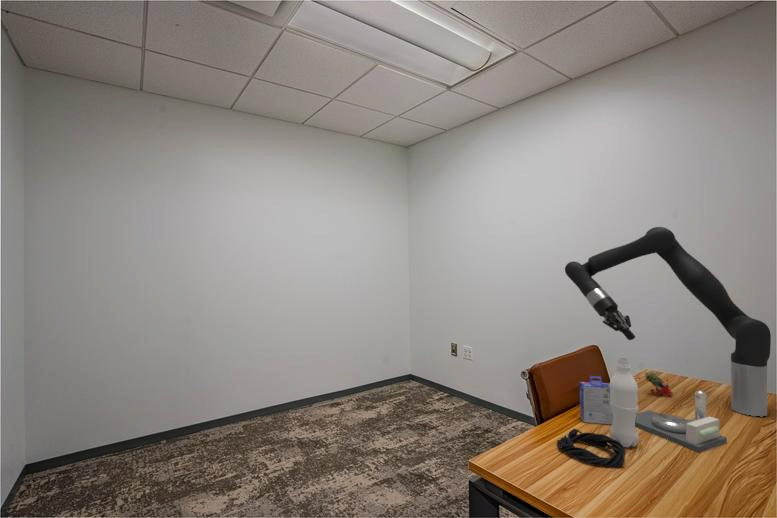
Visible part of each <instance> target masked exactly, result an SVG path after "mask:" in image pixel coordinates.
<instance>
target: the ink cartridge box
mask: <svg viewBox="0 0 777 518" xmlns="http://www.w3.org/2000/svg"><path fill="white" fill-rule="evenodd" d="M593 379H597V380H593ZM578 384H579V386H578V387H579V417H580V420H581V421H582V422H583V423H589V424H590V423H591V424H602V425H603V424H605V425H612V423H613V412H612V408H611V406H610V382H603V380H602V376H598V375H597V376H596V375H589V381H588V382H587V381H579V383H578Z"/></svg>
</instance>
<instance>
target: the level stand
mask: <svg viewBox="0 0 777 518" xmlns="http://www.w3.org/2000/svg"><path fill="white" fill-rule="evenodd" d="M658 413H659V412H656V411H653V410H649V409H648V410H645V411H640V412H637V414H636V417H635V428H636V429H640V430H642V431H645V432H647V433H649V434H652V435H655V436H657V435H658V437H659V436H660V438H662V437H663V438H662V439H664V438H666V439H665V440H667V439H668V440H667V441H669V440H670V441H669V442H672V441H673V442H672V443H674V442H675V443H674V444H676V443H677V445H679V446H681V447H684V448H686V449H689V450H692V451H694V452H696V453H703V452H704V451H708V450H710V449H713V448H716V447H719V446H722V445H724V444H727V437H725V436H723V435H722V434H721V435H720V419H719V418H716V417H712V416H706V418H703V419H700V420H696V421H693V422H690V423H686V434H679V433H673V432H668V431H665V430H662V429H660V428H657V427H656V426H654V425H653V424H652V415H653V414H658Z"/></svg>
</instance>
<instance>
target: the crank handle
mask: <svg viewBox="0 0 777 518" xmlns="http://www.w3.org/2000/svg"><path fill="white" fill-rule="evenodd" d="M707 397H708V395H707V393H706V392H705V391H703V390H699V389H698V390H696V391H694V398H695V399H694V405H695V407H694V409H695V411H694V416H695V417H694V418H684V417H681V416H678V415H674V414H669V413H659V412H657V413H658V414H653V415H652V424H653V425H654V426H656V427H657V428H660V429H662V430H665V431H668V432H673V433H679V434H686V423H690V422H693V421H696V420H700V419H703V418H706V417H707Z"/></svg>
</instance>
